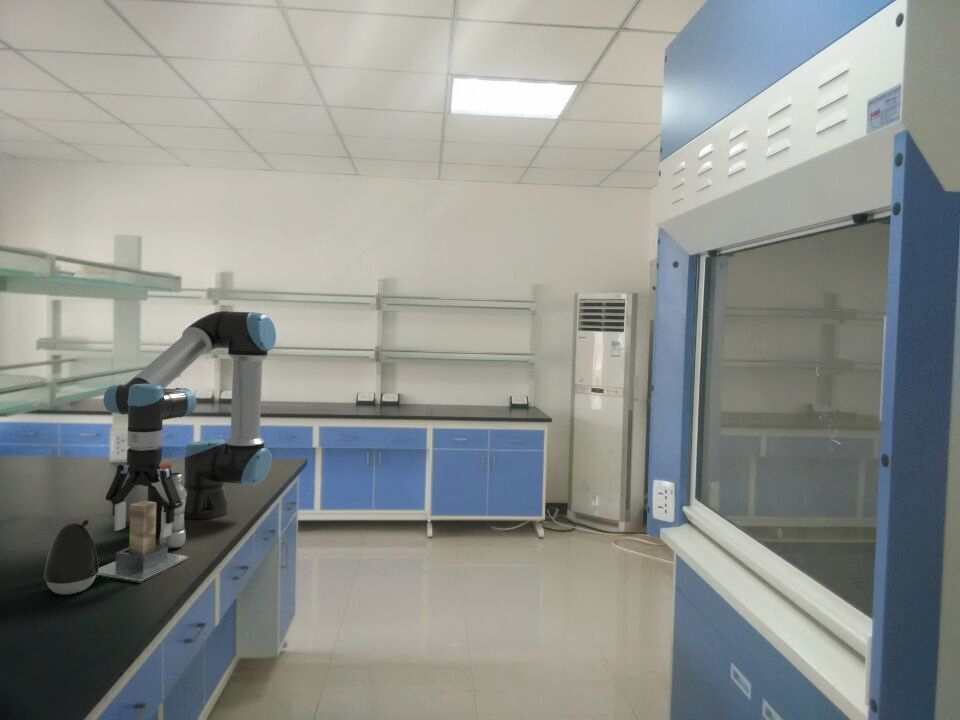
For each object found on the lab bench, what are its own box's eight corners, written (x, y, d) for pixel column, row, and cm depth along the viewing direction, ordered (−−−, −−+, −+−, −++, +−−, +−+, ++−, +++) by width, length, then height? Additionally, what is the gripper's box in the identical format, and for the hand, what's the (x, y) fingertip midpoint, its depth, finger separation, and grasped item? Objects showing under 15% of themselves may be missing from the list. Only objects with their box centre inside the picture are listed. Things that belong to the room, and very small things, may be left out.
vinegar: (169, 536, 175) (171, 467, 174) (143, 537, 174) (145, 466, 173) (176, 529, 182) (177, 461, 181) (151, 529, 180) (152, 461, 179)
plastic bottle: (178, 541, 172) (180, 470, 171) (190, 547, 168) (192, 474, 167) (154, 546, 167) (156, 473, 166) (165, 553, 163) (167, 478, 162)
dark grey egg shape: (108, 581, 144) (109, 516, 144) (80, 600, 134) (82, 531, 133) (63, 579, 144) (64, 515, 143) (32, 598, 133) (33, 529, 133)
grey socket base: (143, 552, 162) (143, 535, 162) (188, 560, 159) (189, 542, 159) (91, 575, 147) (91, 556, 147) (140, 583, 143) (141, 564, 143)
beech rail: (141, 559, 155) (142, 500, 155) (154, 561, 154) (156, 502, 154) (128, 565, 151) (130, 504, 151) (142, 567, 150) (144, 506, 150)
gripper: (90, 445, 151) (88, 530, 152) (177, 454, 145) (174, 543, 146) (115, 440, 158) (113, 522, 159) (199, 449, 152) (196, 534, 153)
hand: (142, 532), depth 152 cm, fingers open, 13 cm apart
